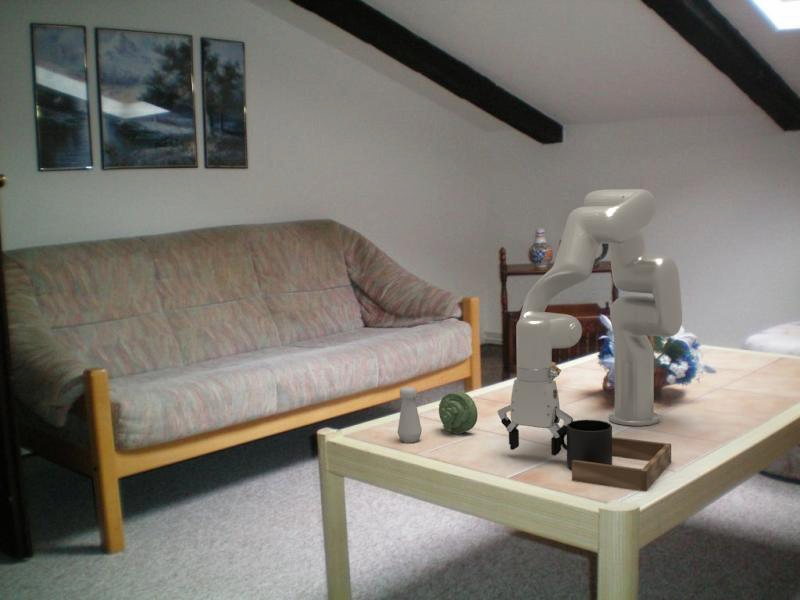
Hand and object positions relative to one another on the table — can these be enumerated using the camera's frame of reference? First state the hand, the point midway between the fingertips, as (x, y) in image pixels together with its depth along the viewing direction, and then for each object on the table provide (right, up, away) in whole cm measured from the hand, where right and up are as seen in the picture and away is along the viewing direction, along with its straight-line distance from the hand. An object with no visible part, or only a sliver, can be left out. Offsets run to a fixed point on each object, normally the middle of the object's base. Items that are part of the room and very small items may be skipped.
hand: (534, 451), depth 191 cm
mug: (+10, -2, -5) cm, 11 cm away
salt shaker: (-27, -1, +18) cm, 33 cm away
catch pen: (+16, -3, -9) cm, 19 cm away
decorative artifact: (-17, 0, +22) cm, 28 cm away
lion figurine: (+13, +7, +66) cm, 68 cm away
